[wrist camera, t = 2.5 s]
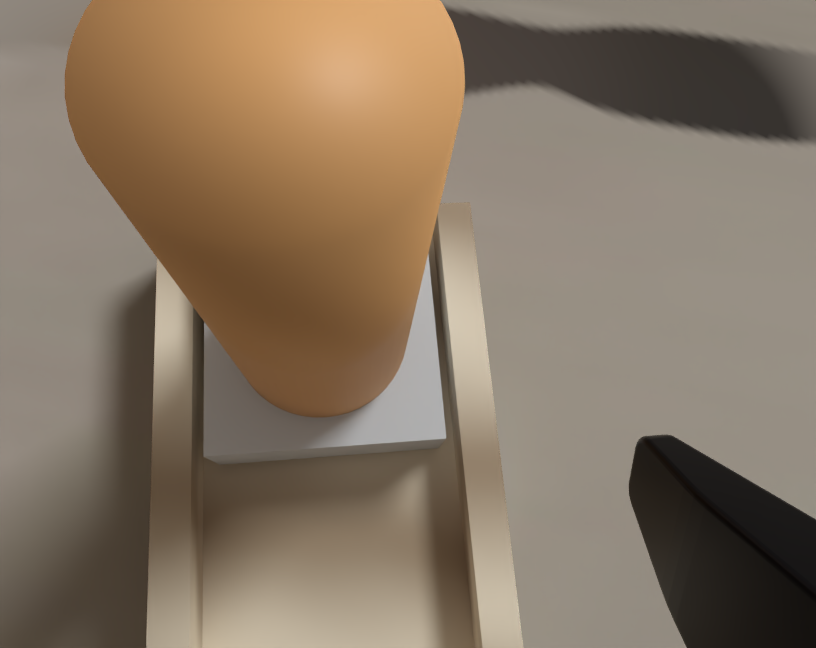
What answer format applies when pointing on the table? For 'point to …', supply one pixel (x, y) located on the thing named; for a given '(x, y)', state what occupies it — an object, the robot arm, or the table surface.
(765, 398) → the table surface
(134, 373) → the table surface
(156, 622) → the track
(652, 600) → the table surface
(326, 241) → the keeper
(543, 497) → the table surface
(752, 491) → the robot arm
